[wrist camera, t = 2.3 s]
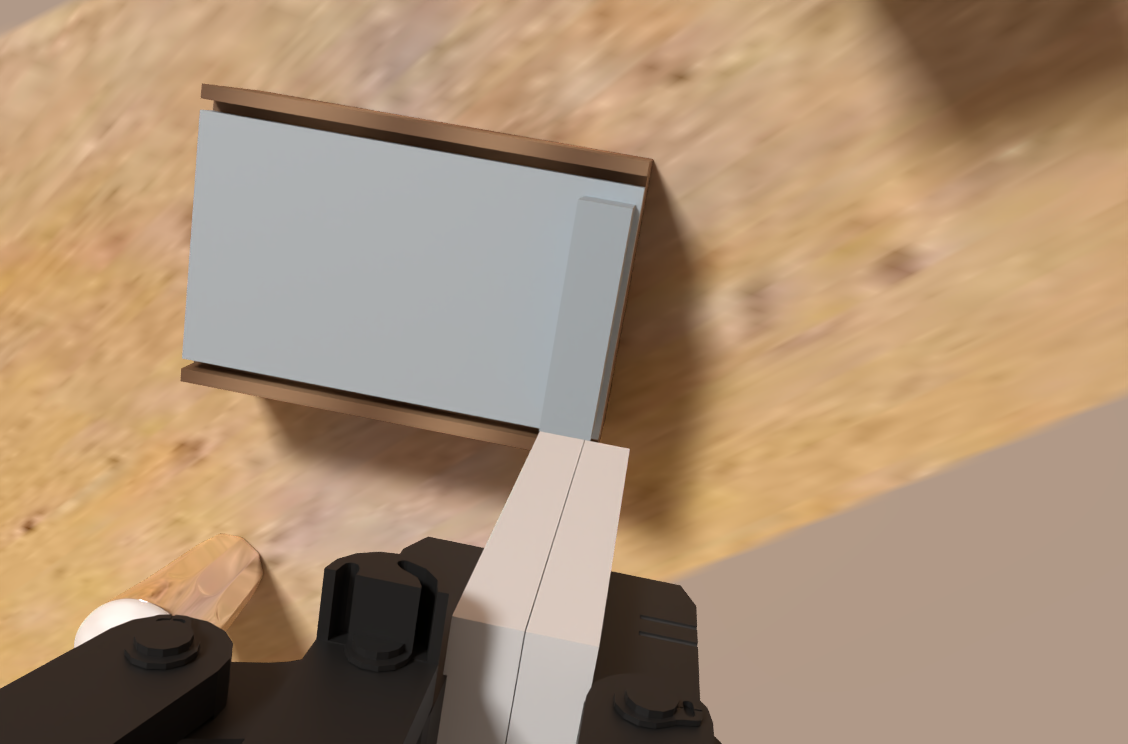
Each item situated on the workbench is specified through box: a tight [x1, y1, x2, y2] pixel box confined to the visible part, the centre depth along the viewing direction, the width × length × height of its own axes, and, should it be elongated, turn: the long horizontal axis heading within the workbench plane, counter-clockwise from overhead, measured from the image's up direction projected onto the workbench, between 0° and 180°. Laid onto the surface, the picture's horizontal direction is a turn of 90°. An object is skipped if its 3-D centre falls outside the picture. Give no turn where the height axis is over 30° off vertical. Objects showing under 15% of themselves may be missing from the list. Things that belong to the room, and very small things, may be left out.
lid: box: [182, 110, 645, 441], centre depth 35 cm, size 16×9×3 cm, turn 81°
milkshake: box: [74, 533, 263, 648], centre depth 40 cm, size 4×5×10 cm
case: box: [181, 84, 653, 450], centre depth 38 cm, size 16×11×5 cm
